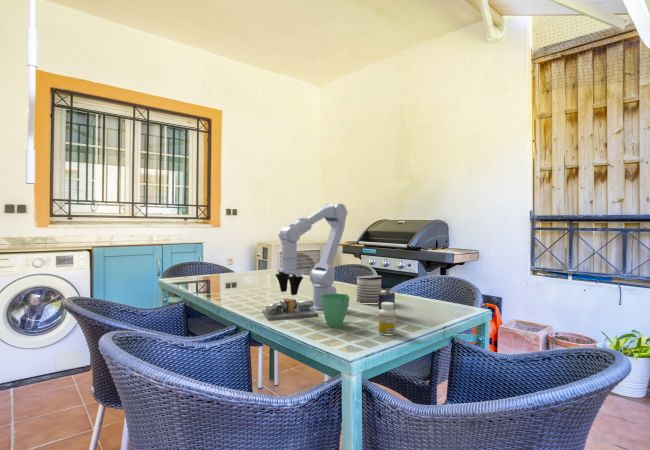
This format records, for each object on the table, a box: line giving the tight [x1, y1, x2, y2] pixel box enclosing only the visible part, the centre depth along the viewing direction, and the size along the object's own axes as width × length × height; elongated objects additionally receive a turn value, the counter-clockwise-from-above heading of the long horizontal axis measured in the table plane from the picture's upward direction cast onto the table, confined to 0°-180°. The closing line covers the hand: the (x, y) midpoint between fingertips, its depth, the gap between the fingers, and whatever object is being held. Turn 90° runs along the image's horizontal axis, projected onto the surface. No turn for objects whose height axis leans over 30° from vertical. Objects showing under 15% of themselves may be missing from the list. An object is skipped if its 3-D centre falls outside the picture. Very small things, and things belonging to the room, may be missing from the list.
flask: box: [378, 288, 396, 312], centre depth 136 cm, size 9×3×11 cm, turn 138°
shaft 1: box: [265, 302, 281, 315], centre depth 134 cm, size 6×4×3 cm, turn 145°
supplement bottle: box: [378, 302, 397, 335], centre depth 115 cm, size 5×5×10 cm
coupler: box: [279, 297, 298, 312], centre depth 138 cm, size 6×4×4 cm
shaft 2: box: [296, 300, 313, 311], centre depth 141 cm, size 6×4×3 cm, turn 110°
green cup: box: [321, 293, 350, 328], centre depth 125 cm, size 15×10×10 cm
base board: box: [261, 307, 320, 321], centre depth 137 cm, size 19×12×1 cm, turn 110°
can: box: [355, 275, 382, 304], centre depth 161 cm, size 11×11×12 cm
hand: (288, 293), depth 138 cm, fingers open, 7 cm apart
